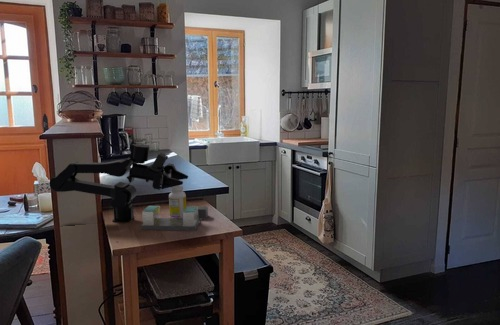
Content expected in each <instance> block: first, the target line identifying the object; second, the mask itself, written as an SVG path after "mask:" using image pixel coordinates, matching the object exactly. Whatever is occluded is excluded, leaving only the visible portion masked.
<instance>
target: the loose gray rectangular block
mask: <svg viewBox="0 0 500 325" xmlns="http://www.w3.org/2000/svg"><path fill="white" fill-rule="evenodd" d="M194 207H198V219H200V220H207V218H208V216H209V215H208V214H209V206H194Z"/></svg>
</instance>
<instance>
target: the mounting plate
mask: <svg viewBox="0 0 500 325" xmlns="http://www.w3.org/2000/svg"><path fill="white" fill-rule="evenodd" d="M141 213H142V224H141V227H140V229H141V230H144V231H145V230H153V231H157V230H158V231H187V232H188V231H193V232H195V231H196V230H197V229H198V226H199V225H200V223H201V219H198V207H195V206H186V209H185V210H184V211H183V218H170V217H161V206H160V205H148V206H147V207H146V208H144V209H143V210H142V211H141Z"/></svg>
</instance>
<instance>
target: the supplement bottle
mask: <svg viewBox="0 0 500 325" xmlns="http://www.w3.org/2000/svg"><path fill="white" fill-rule="evenodd" d="M170 190H171V192H170V193H169V194H168V204H169V205H168V206H169V218H183V211H184V210H185V209H186V208H187V194H186V192H185V191H183V190H184V186H183V185H178V186H173V187H170Z"/></svg>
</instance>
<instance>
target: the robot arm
mask: <svg viewBox="0 0 500 325" xmlns="http://www.w3.org/2000/svg"><path fill="white" fill-rule="evenodd" d="M149 153H150V145H147V144H143V143H142V144H139V143H137V144H136V143H135V144H134V143H133V144H131V145H130V155H129V158H125V159H123V158H122V159H119V160H113V161H109V162H78V161H74V162H71V163H69V164H68V165H67V166H66V167H65V168H64V169H63V170H62V171H60V173H59V174H58V175H56V176H54V177H52V178H51V179H50V180H49V187H50V189H51V190H52V191H53V192H56V193H65V192H78V193H79V192H80V193H86V194H93V195H98V196H104V197H108V198H111V199H112V201H111V202H110V204H111V207H112V208H113V219H112V222H115V223H128V222H130V221H131V220H132V219H133V218H134V217H135V215H134V207H133V206H132V205H133V204H132V203H131V202H133V199H134V198H135V197H136V196H137V189H136V187H135V186H134V185H132V184H131V183H133V182H134V181H135V179H138V180H144V181H145V182H146V183H149V182H152V186H151V187H152V188H153V190H157V191H160V190H164V189H170V188H171V187H173V186H178V185H181V186H183V183H184V181H182V180H187V179H188V178H189V175H187V174H185V173H183V172H181V171H179V170H177V168H176V166H175V165H174V163H168V164H166V165H165V163H166V161H167V160H168V158H169V156H168V155H166V153H163V152H159V153H158V154H157V156H156V157H155V159H154V162H153V164H152V163H151V164H150V165H147V164H145V163H146V162H148V161H149ZM78 174H104V175H108V176H112V177H118V178H120V177H123V176H125V175H127V174H128V176H126V179H127V180H128V183H126V182H122V181H119V182H117V183H116V184H114V185H111V184H106V183H100V182H94V181H93V182H92V181H87V180H81V179H78V178H76V177H77V175H78Z"/></svg>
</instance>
